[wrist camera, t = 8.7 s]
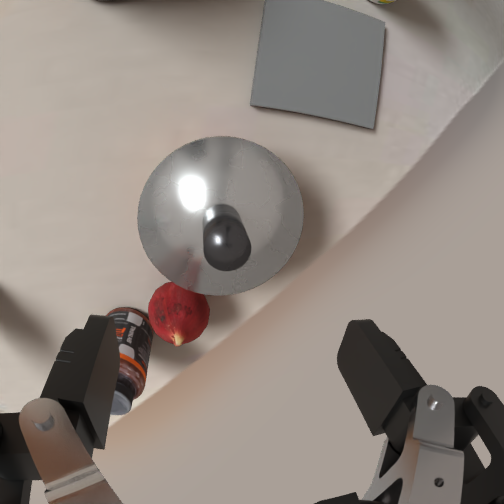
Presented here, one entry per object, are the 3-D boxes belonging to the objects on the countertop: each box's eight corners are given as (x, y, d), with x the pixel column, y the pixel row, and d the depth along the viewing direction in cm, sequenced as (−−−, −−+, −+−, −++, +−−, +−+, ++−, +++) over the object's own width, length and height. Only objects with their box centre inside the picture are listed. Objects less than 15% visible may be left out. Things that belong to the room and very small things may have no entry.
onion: (141, 287, 31) (128, 336, 24) (183, 256, 30) (179, 300, 23) (178, 323, 33) (175, 374, 26) (218, 295, 33) (225, 345, 25)
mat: (266, -9, 21) (268, -13, 20) (380, 24, 23) (385, 22, 22) (249, 105, 25) (251, 104, 24) (368, 128, 28) (373, 129, 27)
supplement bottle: (129, 295, 31) (107, 371, 21) (164, 332, 34) (157, 410, 23) (93, 319, 32) (66, 393, 21) (127, 353, 34) (113, 427, 24)
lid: (143, 131, 20) (124, 135, 14) (311, 147, 22) (346, 158, 17) (140, 285, 25) (128, 329, 19) (285, 291, 27) (305, 333, 22)
